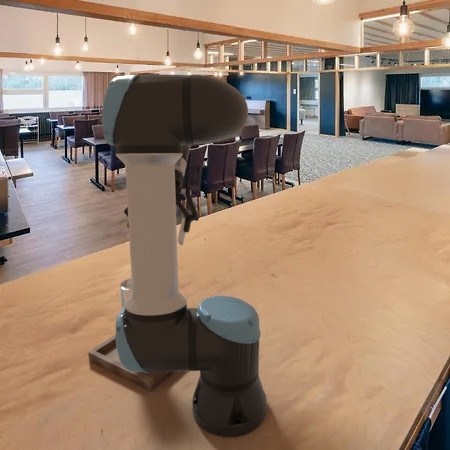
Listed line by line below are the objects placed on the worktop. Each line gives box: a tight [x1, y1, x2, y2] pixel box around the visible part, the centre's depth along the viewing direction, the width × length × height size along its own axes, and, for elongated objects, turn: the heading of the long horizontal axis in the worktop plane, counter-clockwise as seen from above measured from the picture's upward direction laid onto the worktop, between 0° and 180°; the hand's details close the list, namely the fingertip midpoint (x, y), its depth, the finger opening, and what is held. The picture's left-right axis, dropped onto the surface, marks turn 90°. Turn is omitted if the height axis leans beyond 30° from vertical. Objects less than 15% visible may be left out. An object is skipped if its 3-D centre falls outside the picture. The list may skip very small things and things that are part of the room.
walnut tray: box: [87, 335, 174, 392], centre depth 98 cm, size 20×20×2 cm
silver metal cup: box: [119, 277, 132, 310], centre depth 95 cm, size 7×7×15 cm
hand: (154, 241), depth 101 cm, fingers open, 13 cm apart
